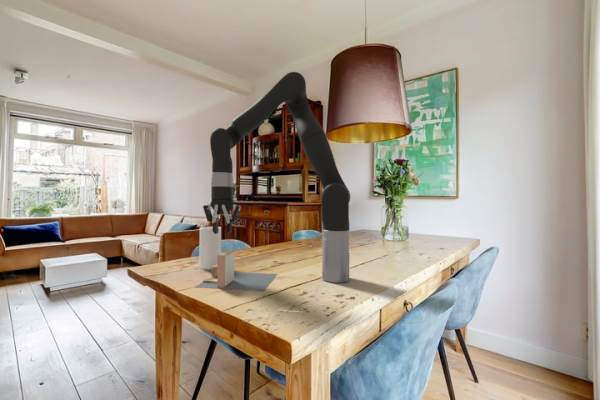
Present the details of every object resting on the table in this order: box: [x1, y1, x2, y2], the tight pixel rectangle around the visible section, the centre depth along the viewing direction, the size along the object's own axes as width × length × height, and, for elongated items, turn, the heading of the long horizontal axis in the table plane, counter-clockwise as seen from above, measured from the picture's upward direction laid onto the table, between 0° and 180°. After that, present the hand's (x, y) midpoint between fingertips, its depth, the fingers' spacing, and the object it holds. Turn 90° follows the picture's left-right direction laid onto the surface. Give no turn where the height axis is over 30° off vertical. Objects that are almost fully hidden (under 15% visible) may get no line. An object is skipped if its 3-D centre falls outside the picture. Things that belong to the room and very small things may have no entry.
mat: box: [194, 271, 278, 292], centre depth 94 cm, size 22×19×1 cm
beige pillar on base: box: [202, 264, 217, 283], centre depth 98 cm, size 5×14×4 cm, turn 172°
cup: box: [198, 226, 222, 270], centre depth 112 cm, size 8×8×16 cm
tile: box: [217, 250, 235, 288], centre depth 90 cm, size 2×8×10 cm, turn 172°
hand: (222, 233), depth 100 cm, fingers open, 4 cm apart
